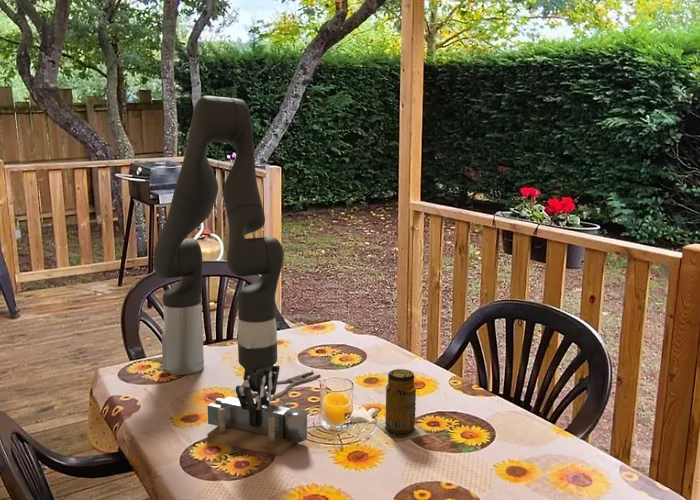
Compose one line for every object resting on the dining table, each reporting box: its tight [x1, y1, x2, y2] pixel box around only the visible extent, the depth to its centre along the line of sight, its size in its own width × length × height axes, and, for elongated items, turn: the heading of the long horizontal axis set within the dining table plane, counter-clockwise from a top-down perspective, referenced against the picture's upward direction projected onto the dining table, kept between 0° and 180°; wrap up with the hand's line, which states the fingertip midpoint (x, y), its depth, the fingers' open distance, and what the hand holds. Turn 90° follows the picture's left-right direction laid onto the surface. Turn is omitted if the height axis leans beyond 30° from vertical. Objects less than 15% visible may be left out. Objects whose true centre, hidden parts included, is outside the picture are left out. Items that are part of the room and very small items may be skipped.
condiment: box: [376, 368, 428, 442], centre depth 138 cm, size 7×8×12 cm
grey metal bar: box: [207, 396, 308, 444], centre depth 135 cm, size 21×4×5 cm, turn 68°
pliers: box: [271, 370, 321, 401], centre depth 162 cm, size 10×1×20 cm
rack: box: [206, 395, 294, 457], centre depth 135 cm, size 16×10×6 cm, turn 68°
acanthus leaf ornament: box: [350, 404, 380, 425], centre depth 145 cm, size 8×7×2 cm
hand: (259, 422), depth 135 cm, fingers closed on grey metal bar, 3 cm apart
